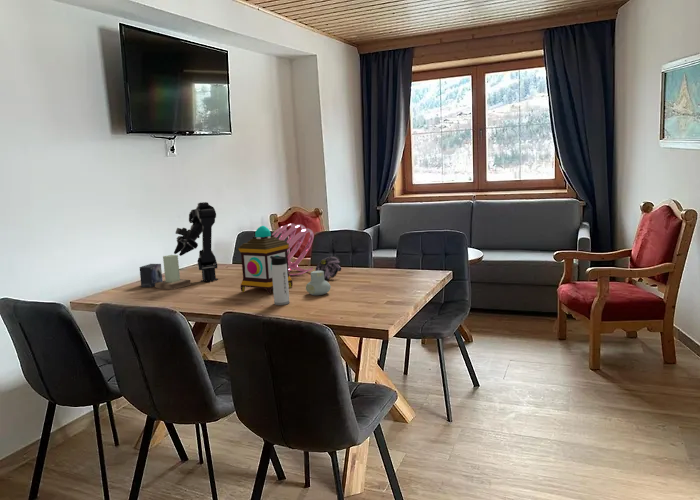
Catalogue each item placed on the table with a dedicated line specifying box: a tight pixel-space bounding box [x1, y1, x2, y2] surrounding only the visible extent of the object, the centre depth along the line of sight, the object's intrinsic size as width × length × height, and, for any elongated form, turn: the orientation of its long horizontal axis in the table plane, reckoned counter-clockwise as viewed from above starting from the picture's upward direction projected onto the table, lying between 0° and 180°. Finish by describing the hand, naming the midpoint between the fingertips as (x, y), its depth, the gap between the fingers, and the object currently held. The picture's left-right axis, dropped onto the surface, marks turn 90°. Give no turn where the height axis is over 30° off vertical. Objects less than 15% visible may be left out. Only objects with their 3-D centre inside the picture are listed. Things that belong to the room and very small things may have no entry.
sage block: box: [162, 254, 181, 283], centre depth 279 cm, size 5×5×13 cm
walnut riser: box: [154, 278, 192, 291], centre depth 280 cm, size 12×12×2 cm
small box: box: [139, 263, 163, 288], centre depth 285 cm, size 11×6×10 cm, turn 168°
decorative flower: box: [314, 255, 342, 282], centre depth 280 cm, size 14×12×15 cm
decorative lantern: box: [237, 225, 294, 296], centre depth 258 cm, size 20×20×30 cm
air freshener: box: [305, 270, 332, 296], centre depth 245 cm, size 11×8×10 cm
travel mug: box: [270, 256, 290, 306], centre depth 230 cm, size 6×7×20 cm
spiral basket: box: [271, 223, 315, 277], centre depth 295 cm, size 28×28×27 cm
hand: (177, 254), depth 295 cm, fingers open, 9 cm apart
